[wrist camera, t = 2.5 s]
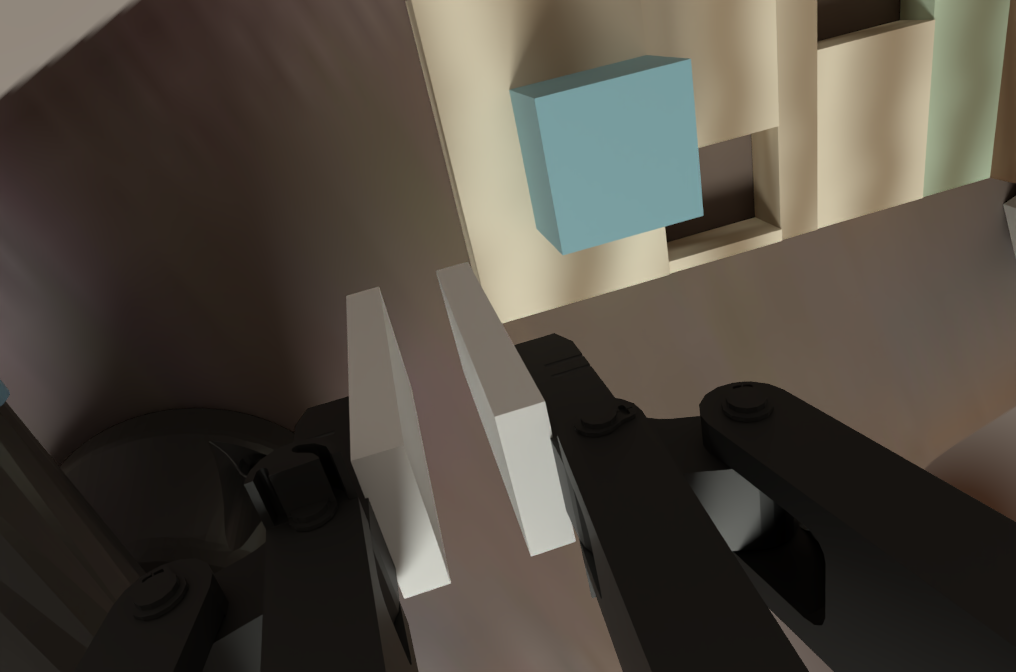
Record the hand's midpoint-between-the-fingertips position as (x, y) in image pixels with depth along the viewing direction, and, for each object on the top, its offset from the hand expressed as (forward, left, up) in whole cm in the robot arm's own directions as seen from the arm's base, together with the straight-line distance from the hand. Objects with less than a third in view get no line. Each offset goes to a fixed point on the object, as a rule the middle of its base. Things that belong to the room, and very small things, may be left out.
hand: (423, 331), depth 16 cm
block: (+9, 0, -14) cm, 17 cm away
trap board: (+17, 0, -16) cm, 24 cm away
